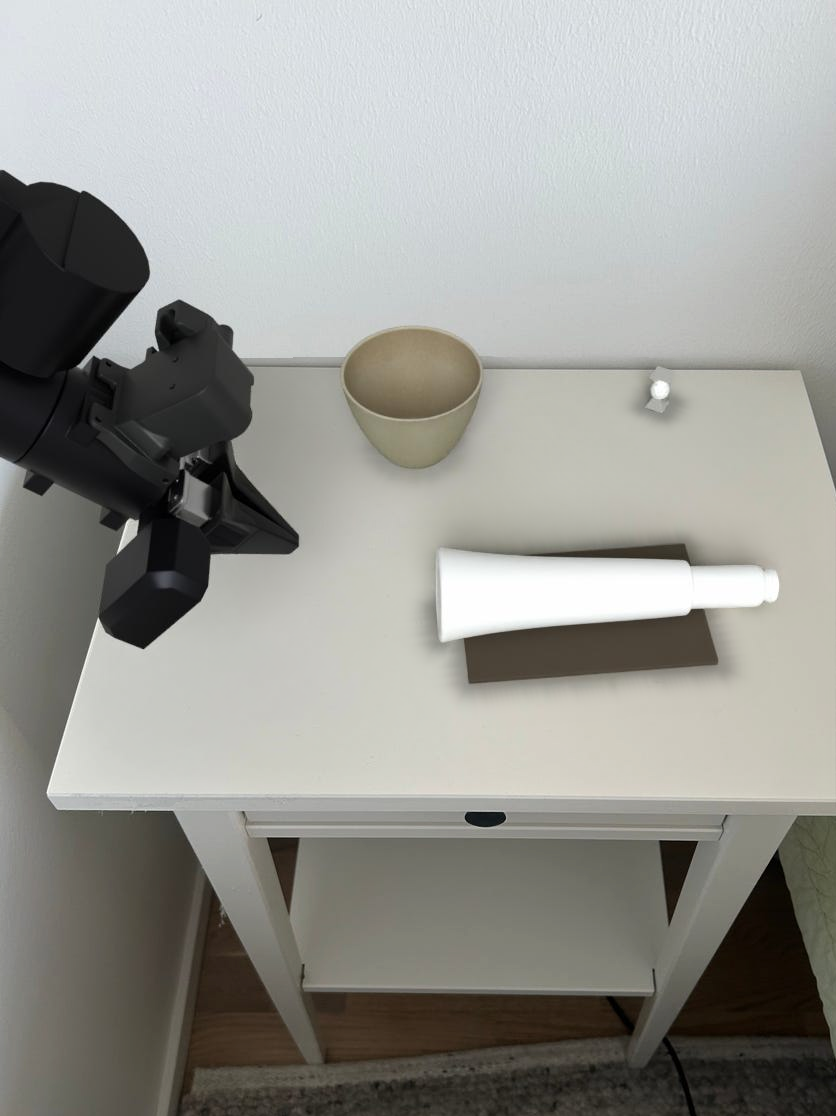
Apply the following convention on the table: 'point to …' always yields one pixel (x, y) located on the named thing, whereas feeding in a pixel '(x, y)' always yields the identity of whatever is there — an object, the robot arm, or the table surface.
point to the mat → (595, 638)
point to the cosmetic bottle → (581, 590)
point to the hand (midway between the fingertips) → (295, 545)
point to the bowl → (412, 391)
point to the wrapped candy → (660, 389)
